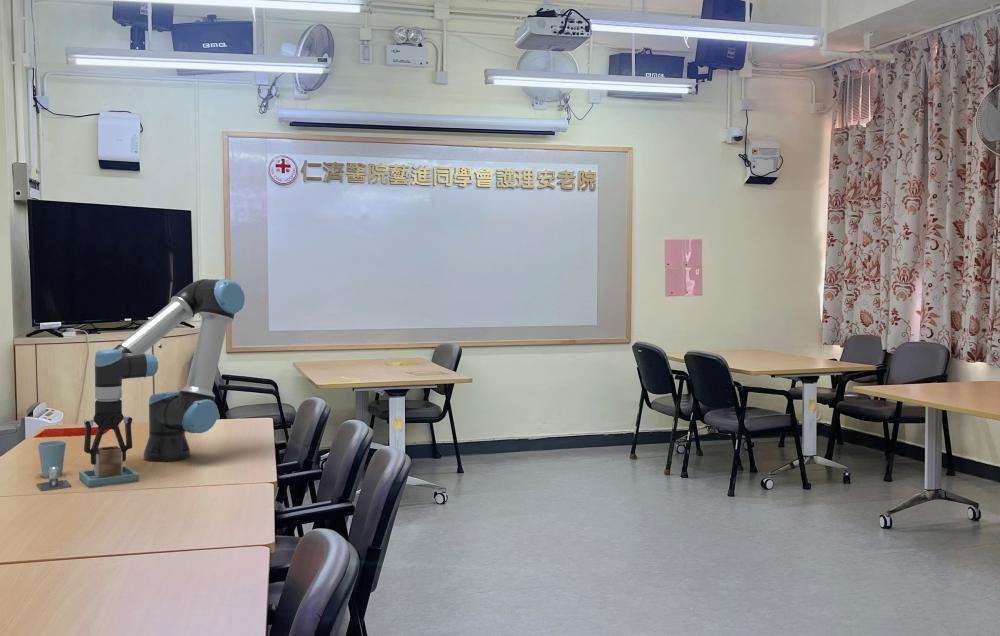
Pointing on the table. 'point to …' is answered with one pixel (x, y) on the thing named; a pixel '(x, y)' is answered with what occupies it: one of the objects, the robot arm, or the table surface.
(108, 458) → the bored block
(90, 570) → the table surface
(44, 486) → the knob mounting plate
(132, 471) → the tray
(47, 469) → the cup
